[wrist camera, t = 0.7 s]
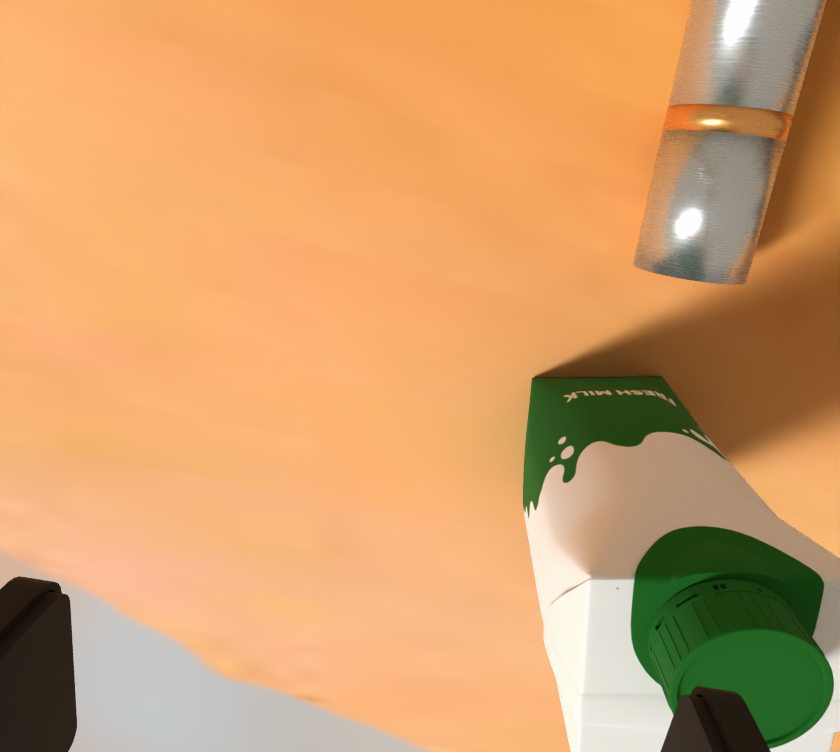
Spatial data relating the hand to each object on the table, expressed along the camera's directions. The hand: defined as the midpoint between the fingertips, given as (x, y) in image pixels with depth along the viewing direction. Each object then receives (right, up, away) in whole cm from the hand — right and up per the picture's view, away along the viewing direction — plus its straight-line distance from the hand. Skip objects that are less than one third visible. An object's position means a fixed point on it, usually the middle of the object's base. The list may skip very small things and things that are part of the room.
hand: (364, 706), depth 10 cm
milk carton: (+10, +2, +26) cm, 28 cm away
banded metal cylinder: (+14, +18, +17) cm, 29 cm away
